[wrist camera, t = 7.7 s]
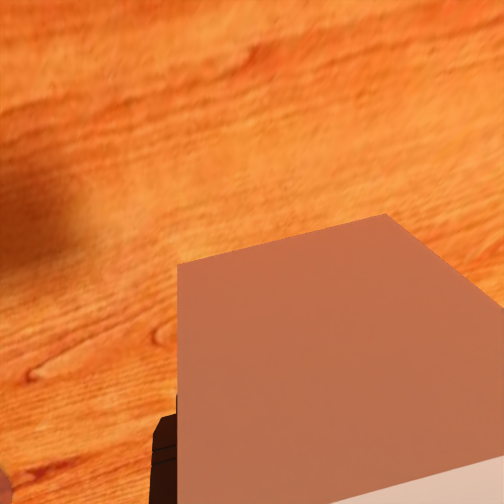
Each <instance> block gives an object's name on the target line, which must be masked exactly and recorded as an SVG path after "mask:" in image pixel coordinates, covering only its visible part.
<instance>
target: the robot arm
mask: <svg viewBox="0 0 504 504" xmlns="http://www.w3.org/2000/svg"><path fill="white" fill-rule="evenodd" d="M152 452H153V453H152V460H151V465H152V467H151V476H150V492H149V504H177V395H176V414H173V415H169V416H165V417H162V418H161V419H160V421H159V423H158V425H157V427H156V429H155V431H154V433H153V444H152ZM11 503H12V489H11V485H10V482H9V480H8V478H7V477H6V475H5V473H4V472H3V471H2V470H1V469H0V504H11Z"/></svg>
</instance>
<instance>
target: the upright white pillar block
mask: <svg viewBox="0 0 504 504" xmlns="http://www.w3.org/2000/svg"><path fill="white" fill-rule="evenodd" d="M177 504H504V308H502V307H501V306H500V305H499V304H497V303H496V302H495V301H494V300H492V299H491V298H490V297H489V296H487V295H486V294H485V293H484V292H483V291H481V290H480V289H479V288H478V287H476V286H475V285H474V284H473V283H471V282H470V281H469V280H468V279H466V278H465V277H464V276H463V275H461V274H460V273H459V272H458V271H456V270H455V269H454V268H453V267H451V266H450V265H449V264H448V263H446V262H445V261H444V260H443V259H442V258H440V257H439V256H438V255H437V254H435V253H434V252H433V251H432V250H430V249H429V248H428V247H427V246H425V245H424V244H423V243H422V242H420V241H419V240H418V239H417V238H415V237H414V236H413V235H412V234H410V233H409V232H408V231H407V230H405V229H404V228H403V227H402V226H401V225H399V224H398V223H397V222H396V221H394V220H393V219H392V218H391V217H389V216H388V215H387V214H382V215H378V216H374V217H370V218H366V219H362V220H358V221H354V222H350V223H346V224H342V225H338V226H333V227H329V228H325V229H321V230H317V231H313V232H309V233H305V234H301V235H297V236H293V237H289V238H285V239H281V240H277V241H272V242H268V243H264V244H260V245H256V246H252V247H248V248H244V249H240V250H236V251H232V252H228V253H224V254H220V255H215V256H211V257H207V258H203V259H199V260H195V261H191V262H187V263H183V264H179V265H177Z"/></svg>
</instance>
